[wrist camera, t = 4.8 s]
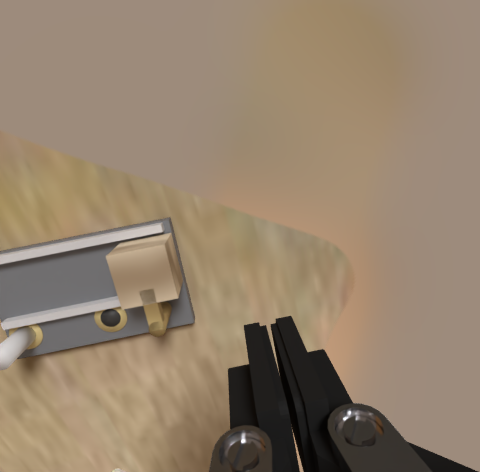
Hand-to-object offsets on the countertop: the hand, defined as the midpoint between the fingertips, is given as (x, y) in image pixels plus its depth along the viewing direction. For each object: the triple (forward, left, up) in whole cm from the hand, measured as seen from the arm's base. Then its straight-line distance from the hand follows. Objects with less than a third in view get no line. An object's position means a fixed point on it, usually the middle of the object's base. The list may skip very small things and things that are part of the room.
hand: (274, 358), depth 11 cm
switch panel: (-2, +13, -17) cm, 21 cm away
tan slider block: (-1, +7, -15) cm, 17 cm away
